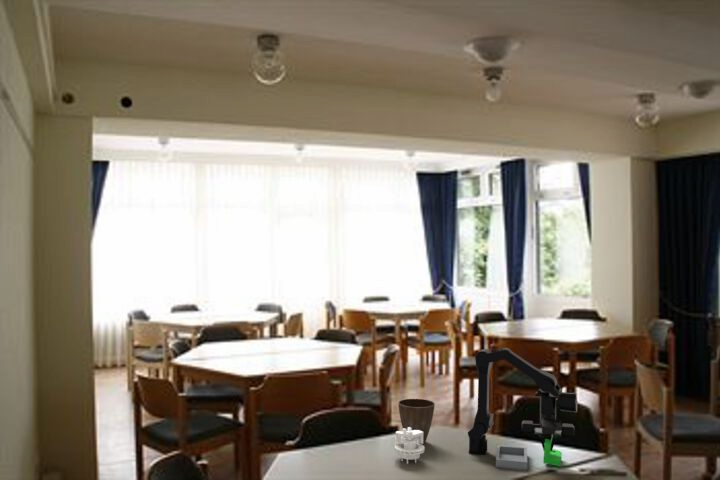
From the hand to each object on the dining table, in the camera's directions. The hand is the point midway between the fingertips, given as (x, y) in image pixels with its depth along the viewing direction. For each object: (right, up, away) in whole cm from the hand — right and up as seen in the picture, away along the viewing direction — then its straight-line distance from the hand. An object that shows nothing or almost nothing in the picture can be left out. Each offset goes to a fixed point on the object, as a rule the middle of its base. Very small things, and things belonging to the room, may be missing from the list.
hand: (547, 450), depth 236 cm
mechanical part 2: (+2, -3, -1) cm, 4 cm away
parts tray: (-13, -4, 0) cm, 14 cm away
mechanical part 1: (-51, -4, 0) cm, 52 cm away
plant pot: (-47, -4, +23) cm, 52 cm away
